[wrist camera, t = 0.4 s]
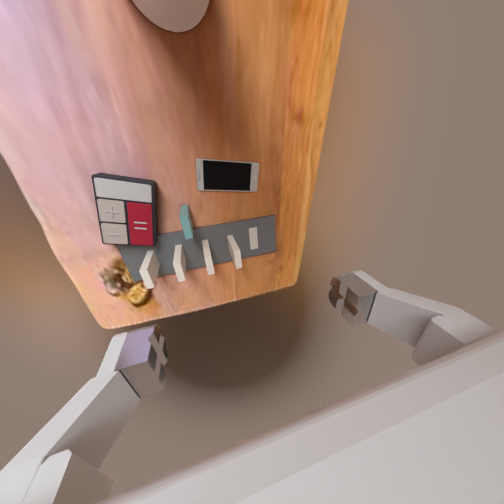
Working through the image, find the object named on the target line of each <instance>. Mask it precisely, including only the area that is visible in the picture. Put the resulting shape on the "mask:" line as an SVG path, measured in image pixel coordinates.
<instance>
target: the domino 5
mask: <svg viewBox="0 0 504 504" xmlns="http://www.w3.org/2000/svg"><path fill="white" fill-rule="evenodd" d="M227 241H228V247H229V252H230V255H231V257H232V260H233V262H234V265H235V267H236V269H238V268H242V261H241V253H240V249H239V247H238V245H237V243H236V241H235V239H234V237H233V235H228V236H227Z"/></svg>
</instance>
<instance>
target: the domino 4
mask: <svg viewBox="0 0 504 504" xmlns="http://www.w3.org/2000/svg"><path fill="white" fill-rule="evenodd" d="M202 245H203V252H204V259H205V263H206V267H207V272H208V275H211V274H215V272H214V267H213V262H212V258H211V253H210V248H209V243H208V239H207V240H202Z"/></svg>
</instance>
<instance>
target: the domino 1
mask: <svg viewBox="0 0 504 504" xmlns="http://www.w3.org/2000/svg"><path fill="white" fill-rule="evenodd" d="M159 267H160V264H159V261H158V258H157V256H156V253H155V250H154V249H153V250H148V251H147V253H146V256H145V258H144V260H143V263H142V265H141V268H140V270H139V272H140V274H141V277H142V279H143V281H144V283H145V286H146V288H147V289H149V288H154V287H155V283H156V279H157V275H158V271H159Z"/></svg>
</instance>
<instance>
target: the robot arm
mask: <svg viewBox="0 0 504 504" xmlns="http://www.w3.org/2000/svg"><path fill="white" fill-rule="evenodd" d="M132 1H133V2H134V4H135V5H136V6H137V8H138V9H139V10H140V11H141V12H142V13H143V14H144V15H145V16H146V17H147V18H148V19H149V20H150V21H151V22H153V23H154V24H156V25H157V26H159V27H161V28H163V29H165V30H168V31H172V32H184V31H188V30H190V29H192V28H194V27H195V26H196V25H197V24H198V23H199V22H200V21H201V19H202V18H203V16H204V15H205V12H206V10H207V7H208V4H209V1H210V0H132ZM330 284H331V286H332V288H331V289H330V291H329V300H330V303H331V304H332V305H333V307H334V308H335V309H336V310H339V311H341V312H342V317H343V318H344V319H345V320H346V321H347V322H348V323H349V324H350V325H351V326H355V325H359V324H362V323H365V322H367V323H369V324H370V325H372V326H374V327H376V328H378V329H380V330H382V331H384V332H386V333H388V334H389V335H391V336H393V337H395V338H397V339H399V340H401V341H403V342H405V343H407V344H408V345H411V346H413V347H414V348H415V349H414V351H413V353H412V354H411V359H412V360H413V361H415V363H417V364H418V365H419V366H418V367H416V368H413V369H411V370H408V371H406V372H404V373H402V374H399V375H396V376H394V377H392V378H389V379H387V380H385V381H383V382H380V383H378V384H376V385H373V386H371V387H368V388H366V389H363V390H361V391H359V392H356V393H354V394H352V395H349V396H347V397H344V398H342V399H340V400H337V401H335V402H333V403H330V404H328V405H326V406H323V407H321V408H318V409H316V410H314V411H311V412H309V413H307V414H305V415H302V416H299V417H297V418H295V419H293V420H290V421H288V422H285V423H283V424H281V425H278V426H276V427H273V428H271V429H269V430H266V431H264V432H262V433H260V434H257V435H255V436H252V437H250V438H248V439H245V440H243V441H241V442H238V443H236V444H233V445H231V446H229V447H226V448H224V449H222V450H219V451H217V452H214V453H212V454H210V455H208V456H205V457H203V458H200V459H198V460H195V461H193V462H191V463H188V464H186V465H184V466H182V467H179V468H177V469H174V470H172V471H169V472H167V473H165V474H162V475H160V476H158V477H156V478H153V479H151V480H148V481H146V482H144V483H141V484H139V485H136V486H134V487H132V488H129V489H127V490H125V491H122V492H120V493H118V494H115V495H113V496H110V492H111V488H112V484H113V480H112V478H111V477H110V476H109V475H107V474H106V473H104V472H103V471H101V470H99V468H100V466H101V464H102V463H103V461H104V459H105V458H106V456H107V454H108V453H109V451H110V449H111V448H112V446H113V444H114V443H115V441H116V439H117V437H118V436H119V434H120V433H121V431H122V429H123V427H124V426H125V424H126V422H127V421H128V419H129V418H130V416H131V414H132V412H133V411H134V409H135V408H136V406H137V404H138V403H139V401H140V399H139V398H142V397H145V396H147V395H150V394H153V393H156V392H159V391H161V390H164V387H165V377H166V371H165V369H164V367H163V366H164V365H165V363H166V362H167V358H168V348H167V343H166V340H165V338H164V337H162V336H160V333H161V329H160V328H159V326H158V325H153V326H148V327H144V328H140V329H136V330H132V331H129V332H125V333H120V334H116V335H115V336H114V337H113V338H112V340H111V342H110V344H109V347H108V349H107V352H106V354H105V356H104V359H103V361H102V364H101V366H100V369H99V371H98V373H97V376H96V377H95V378H92V379H90V380H89V381H88V382H87V383H86V384H85V385H84V386H83V387H82V388H81V389H80V390H79V391H78V392H77V394H76V395H75V396H74V397H73V398H72V399H71V400H70V401H69V402H68V403H67V404H66V405H65V406H64V407H63V408H62V409H61V410H60V411H59V412H58V413H57V414H56V415H55V416H54V417H53V418H52V419H51V420H50V421H49V422H48V423H47V424H46V425H45V426H44V427H43V428H42V429H41V430H40V431H39V432H38V433H37V435H36V436H35V437H34V438H33V439H32V440H31V441H30V442H29V443H28V444H27V445H26V446H25V447H24V448H23V449H22V450H21V451H20V452H19V453H18V454H17V455H16V456H15V457H14V458H13V459H12V460H11V461H10V462H9V463H8V464H7V465H6V466H5V467H4V468H3V469H2V470H1V472H0V504H504V330H503V331H501V332H499V331H497V330H495V329H494V328H492V327H490V326H489V325H487V324H485V323H483V322H482V321H480V320H478V319H477V318H475V317H473V316H471V315H470V314H468V313H466V312H465V311H463V310H461V309H459V308H457V307H454V306H451V305H447V304H443V303H440V302H437V301H433V300H430V299H426V298H423V297H420V296H416V295H413V294H409V293H406V292H403V291H399V290H396V289H392V288H391V289H388V288H387V287H385V286H384V285H382V284H381V283H379V282H378V281H376V280H375V279H374V278H372V277H371V276H369V275H368V274H366V273H365V272H363V271H360V270H358V271H354V272H351V273H347V274H344V275H340V276H337V277H333V278H332V279H331V282H330Z"/></svg>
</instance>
